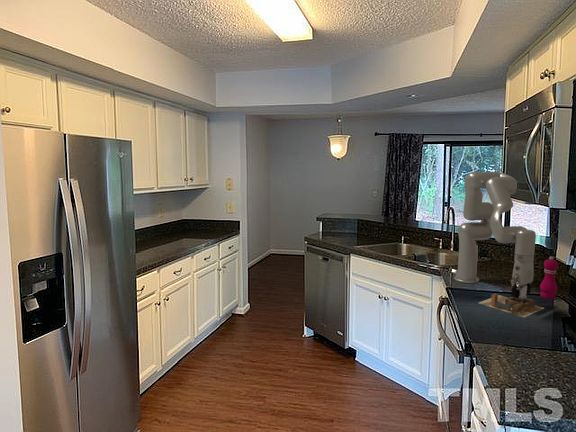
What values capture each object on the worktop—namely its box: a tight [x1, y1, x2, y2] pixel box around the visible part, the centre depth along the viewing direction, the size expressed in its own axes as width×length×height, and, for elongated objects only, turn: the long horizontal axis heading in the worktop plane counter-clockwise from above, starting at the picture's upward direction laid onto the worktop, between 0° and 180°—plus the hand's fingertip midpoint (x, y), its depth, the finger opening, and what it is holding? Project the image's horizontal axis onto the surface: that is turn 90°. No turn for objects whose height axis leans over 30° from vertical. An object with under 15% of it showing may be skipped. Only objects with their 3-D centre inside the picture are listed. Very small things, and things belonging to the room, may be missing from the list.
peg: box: [515, 284, 528, 304], centre depth 195 cm, size 4×4×10 cm
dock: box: [478, 294, 545, 318], centre depth 197 cm, size 21×18×4 cm
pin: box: [490, 293, 511, 310], centre depth 193 cm, size 8×2×5 cm, turn 36°
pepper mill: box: [539, 256, 559, 300], centre depth 210 cm, size 7×7×20 cm
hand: (520, 295), depth 195 cm, fingers open, 9 cm apart
